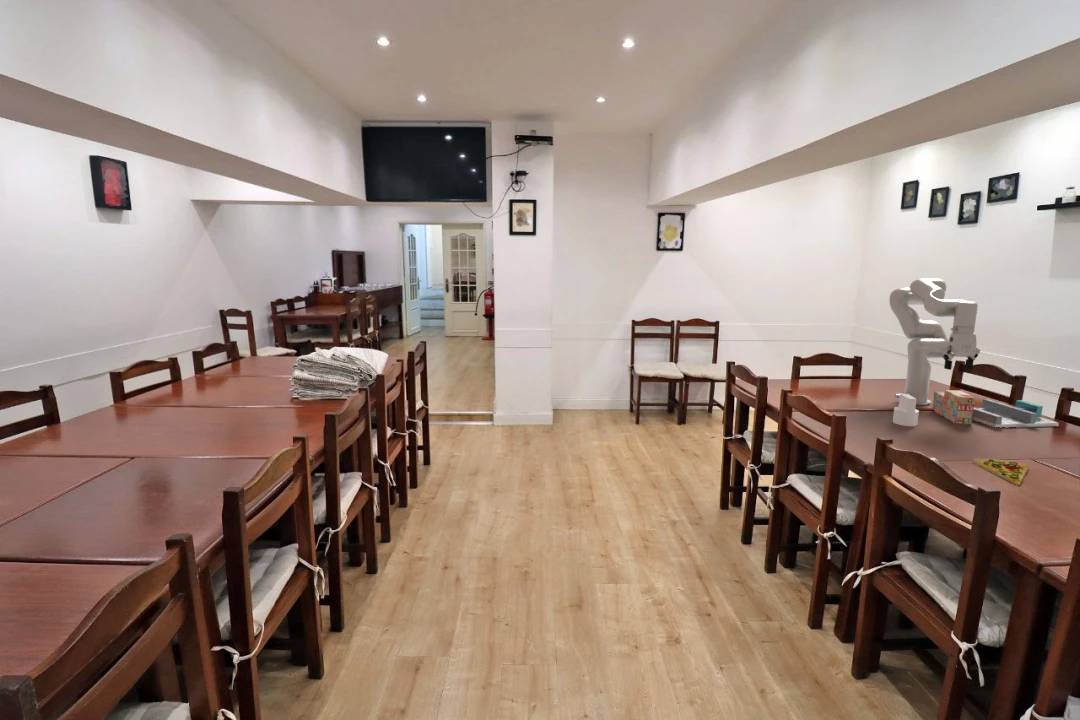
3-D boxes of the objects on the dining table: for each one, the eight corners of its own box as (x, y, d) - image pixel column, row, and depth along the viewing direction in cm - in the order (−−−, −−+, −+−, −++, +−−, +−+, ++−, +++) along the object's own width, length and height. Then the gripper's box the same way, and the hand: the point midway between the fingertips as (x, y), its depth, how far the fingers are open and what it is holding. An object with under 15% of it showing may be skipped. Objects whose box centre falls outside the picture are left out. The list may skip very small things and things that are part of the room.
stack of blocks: (931, 410, 257) (934, 385, 255) (946, 411, 256) (950, 385, 253) (955, 424, 237) (958, 396, 234) (971, 425, 235) (975, 397, 233)
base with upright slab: (921, 426, 233) (924, 399, 231) (897, 425, 235) (901, 398, 233) (911, 420, 242) (915, 394, 240) (889, 419, 244) (892, 393, 241)
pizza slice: (1026, 468, 189) (1027, 460, 188) (1049, 492, 171) (1051, 483, 170) (970, 462, 196) (971, 454, 195) (987, 483, 177) (988, 475, 177)
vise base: (995, 428, 231) (997, 416, 230) (949, 412, 254) (951, 401, 253) (1058, 426, 232) (1060, 414, 231) (1007, 410, 256) (1009, 400, 255)
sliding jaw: (1030, 422, 231) (1032, 411, 230) (981, 407, 255) (983, 396, 254) (1056, 422, 232) (1058, 410, 231) (1005, 406, 255) (1007, 396, 254)
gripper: (951, 331, 234) (946, 371, 237) (989, 331, 235) (984, 370, 238) (937, 329, 242) (932, 367, 245) (974, 328, 243) (969, 366, 246)
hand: (958, 368), depth 242 cm, fingers open, 9 cm apart
